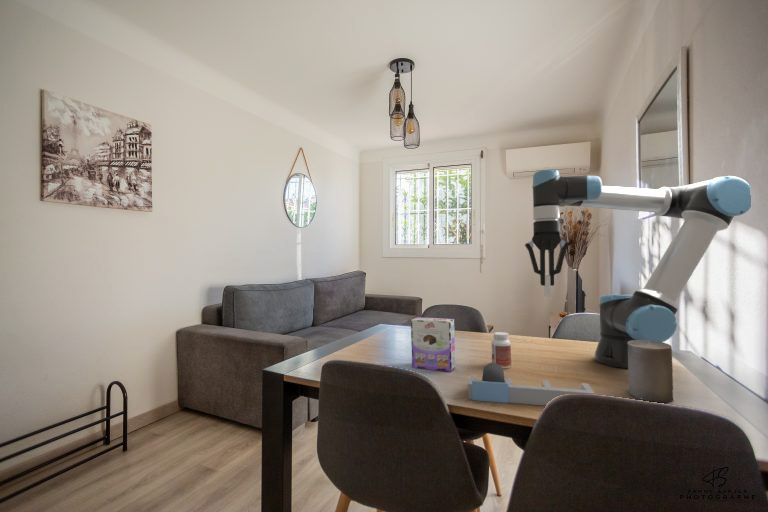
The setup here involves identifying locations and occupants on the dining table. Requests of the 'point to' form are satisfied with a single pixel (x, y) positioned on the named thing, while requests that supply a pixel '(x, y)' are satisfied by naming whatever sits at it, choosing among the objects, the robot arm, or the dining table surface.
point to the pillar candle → (650, 370)
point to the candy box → (433, 343)
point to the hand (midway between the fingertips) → (547, 296)
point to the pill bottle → (501, 350)
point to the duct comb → (518, 392)
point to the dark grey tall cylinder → (493, 373)
